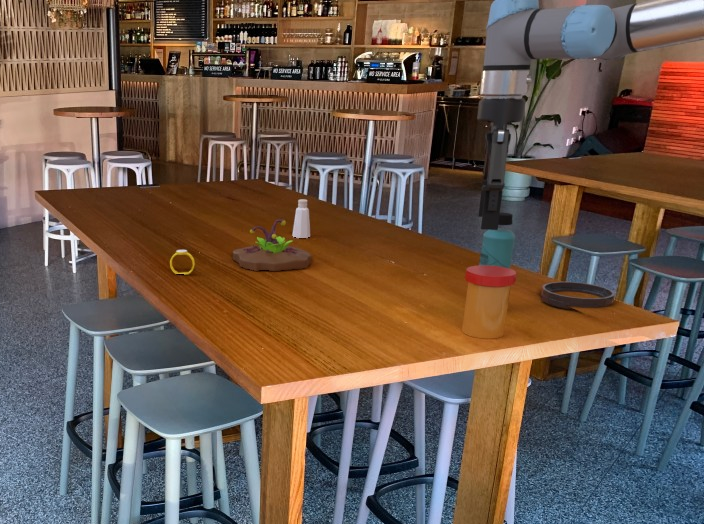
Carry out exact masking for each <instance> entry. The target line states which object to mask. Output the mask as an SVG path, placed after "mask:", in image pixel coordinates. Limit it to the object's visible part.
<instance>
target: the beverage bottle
mask: <svg viewBox="0 0 704 524" xmlns="http://www.w3.org/2000/svg"><path fill="white" fill-rule="evenodd" d="M513 215H514V214H513V213H509V212H504V211H503V212H501V211H500V215H499V223H498V226H511V225H513V217H514V216H513ZM515 240H516V234H515V233H514V232H513V231H512V230H511V229H509V228H503V227H498V230H486V231H485V232H484V233H483V234H482V244H481V248H480V253H479V260H478V262H479V263H478V266H479V265H489V266H499V267H505V268H509V269H511V267H512V262H513V261H512V260H513V253H514V247H515V243H516V241H515Z"/></svg>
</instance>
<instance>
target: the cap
mask: <svg viewBox="0 0 704 524" xmlns="http://www.w3.org/2000/svg"><path fill="white" fill-rule="evenodd" d="M464 279H465V281H466V282H467V283H468V282H470V283H473V284H477V285H482V286H492V287H503V286H510V285H511V286H513V285H515V283H516V281H517V271H516V270H514V269H512V268H510V269H509V268H505V267H499V266H489V265H479V264H478V265H472V266H468V267H467V268H466V270H465V274H464Z"/></svg>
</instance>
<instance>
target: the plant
mask: <svg viewBox="0 0 704 524" xmlns="http://www.w3.org/2000/svg"><path fill="white" fill-rule="evenodd" d="M286 221H287V220H285V219H283V218H277V219H276V220H274V223H273V224H272V226H271V231H270V232H269V231H268V230H267V229H266V228H265V227H262V226H260V225H257V226H255V227H252V228H251V229H250V230H249V234H251V235H253V234H255V232H256V229H259V230H260V231H262V233H263V234H264V238H265V239H264V238H262V237H258V236H257V237H256V239H257V241H255V244H256V245H254V244H252V245H249V246H246V247H241V248H236V249H234V250H232V260H233V261H234V262H236V263H238V264H239V268H242V267H243V268H242V269H245V270H248V269H250V270H249V271H253V270H254V271H253V272H260V271H259V270H269V271H268V272H282V271H281V270H285V271H293V270H292V269H295V270H304V269H303V268H306V269H307V268H308V267H309V266H310V265H311V262H312V255H311V253H310V251H307V250H303V249H301V248H299V247H297V246H290V244H292V242H294V240H293V239H292V240H291V239H290V240H288V241H286V238H285V237H284V236H283V237H282V236H280V235H279V236H278V234H277V232H276V228H277V227H276V226H277V225H278V223H279V224H280V225H281V226H282V227H284V226H286V225H287V222H286ZM257 245H258V246H257Z"/></svg>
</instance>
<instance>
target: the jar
mask: <svg viewBox="0 0 704 524" xmlns="http://www.w3.org/2000/svg"><path fill="white" fill-rule="evenodd" d="M466 287H467V288H466V296H465V303H464V309H463V310H464V311H463V319H462V325H461V332H462V333H463V334H465V335H466V336H469V337H472V338H476V339H485V340H486V339H487V340H493V339H499V338H502V337H503V336H504V333H505V328H506V321H507V314H508V308H509V303H510V302H509V301H510V296H511V288H512V285H510V286H503V287H492V286H482V285H477V284H473V283H470V282H468V281H467V286H466Z"/></svg>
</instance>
